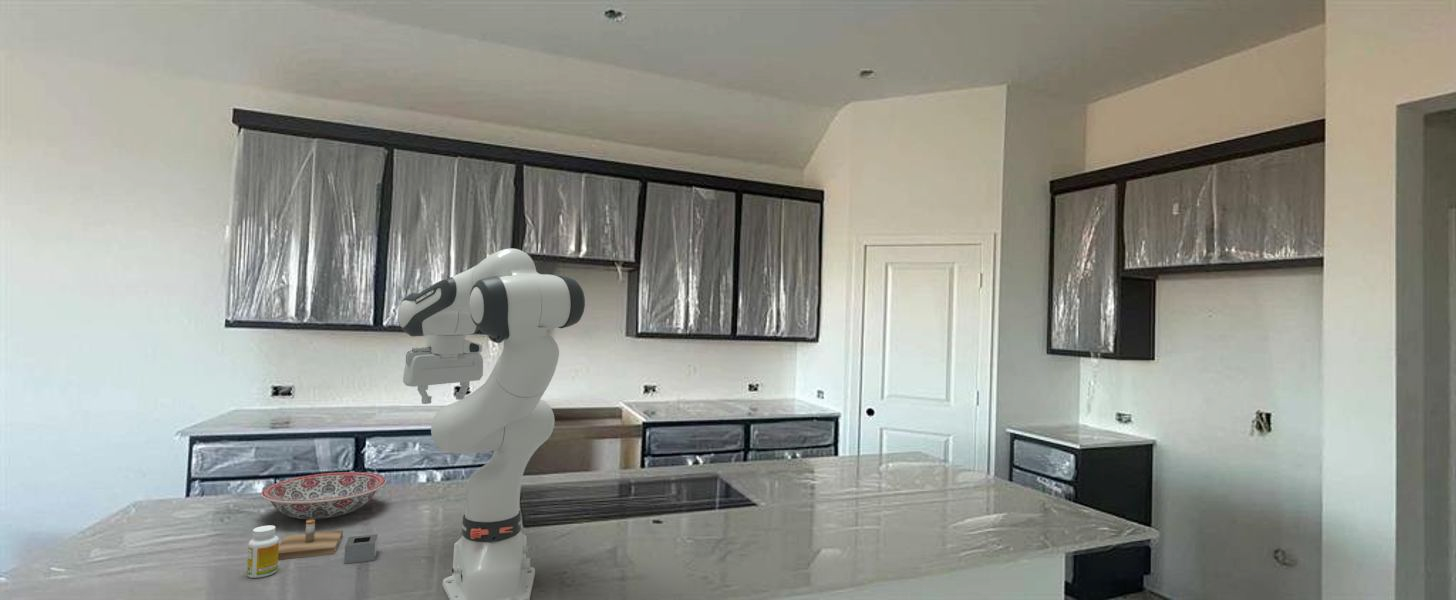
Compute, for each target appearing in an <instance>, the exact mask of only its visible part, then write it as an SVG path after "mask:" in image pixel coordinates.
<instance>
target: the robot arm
mask: <svg viewBox="0 0 1456 600" xmlns="http://www.w3.org/2000/svg"><path fill="white" fill-rule="evenodd" d="M585 309H586V299H585V292H584V290H583V288H582V286H581V285H580V284H579V283H578V282H577V280H575V279H574V278H572V277H570V276H565V275H561V274H558V273H556V272H553V271H550V272H549V273H547V274H546V273H545V274H543V273H542V274H541V273H539V272H537V269H536V265H535V262H534V260H533V258H532V257H531V256H530V255H529V254H528V253H526V252H525V251H523V250H521V249H518V248H503V249H501V250H498V251H496V252H494V253H491V254H490V255H488V256H486V257H485V258H484V259H482V260H481V261H480V262H479V263H477V264H476V265H474V266H473V267H471V268H469V269H467V270H464V271H462V272H459V273H457V274H454V275H453V276H449V277H447V278H444V279H442V280H439V281H438V282H435V283H433V284H432V285H430V286H428V287H427V288H426V289H423V290H422V291H420V292H411V293H409V294H408V295H406V296H405V297H404V298H403V299H402V300H401V301H400V303H399V306H398V310H397V322H398V325H399V327H400V328H401V329H402V331H404V332H405V333H406V334H407V335H409V336H410V337H424V336H426V346H422V347H417V346H416V347H412V348H411V349H409V350H408V351H407V352H406V354H405V364H404V370H403V376H402V382H403V383H404V385H405V386H407V387H413V388H415V387H416V388H417V391H418V393H419V395H420V397H421V405H422V404H423V405H427V404H428V405H429V404H431V403H432V397H433V396H431V395H429V394H428V393H427V390H428V389H429V386H433V385H434V386H436V385H445V384H455V383H459V386H460V388H459V391H456V392H455V399H456V400H458V401H455V402H453V403H450V404H448V405H444V406H441V408H439V410H437V412H436V413H435V415H434V417H433V420H432V422H431V427H430V434H431V435H430V436H431V438H432V441H433V443H434V445H435V446H436V448H437V449H438V450H439V451H441V452H442V453H445V454H447V453H448V454H458V455H460V454H462V455H469V454H479V453H488V452H489V453H490V452H493V455H492V456H491V458H490V459H489V460H488V462H486V464H484V465H482V466H480V467H479V468H478V469H476V470H475V471H473V473H472V474H471V475H470V476H469V478H468V479H467V481H466V484H465V504H464V505H465V507H464V509H465V511H464V515H462V522H461V534H462V535H461V537H460V538H459V539H458V540H456V542H455V543H453V544H454V545H453V560H452V561H453V562H452V568H451V572H452V575H450V576H447V577H445V578H443V579H442V584H441V586H442V588H443V590H444V592H445V594H446V596H447V598H448V600H531V595H532V590H533V586H534V581H535V576H536V569H535V567H532V566H531V560H532V559H531V558H530V557H527V554H528V553H529V551H530V547H529V545H528V546H527V535H525V534H524V533H523V532H522V531H521V530H522V514H521V513H522V512H521V510H520V497H521V487H522V481H523V477H524V472H525V469H526V467H527V465H528V463H529V461H530V460H531V458H532V456H533V455H534V453H535V452H536V451H537V450H538V449H539V447H541V446H542V445H543V444H544V443H545V442H546V441H548V440H549V438H550V437H551V435H552V434H553V432H554V428H555V422H556V421H555V413H554V411H553V409H552V407H551V405H549V403H548V402H547V401H546V400H542V397H543V395H544V394H545V392H546V390H547V388H548V386H549V385H550V383H551V382H552V379H553V376H554V375H555V371H556V369H557V365H558V362H559V356H560V349H559V345H558V342H557V341H556V339H554V337H553V336H552V335H550V334H549V333H547V331H549V330H553V329H565V328H568V327H571V326H574V325H575V324H578V323H579V322H580V321H581V319H582V317H583V315H584V313H585ZM478 331H480V332H482V333H483V334H484V335H486V336H488V338H489V340H490V341H491V342H493V343H496V344H500V343H503V349H502V352H501V354H500V356H499V357H498V359H497V361H496V363H495V365H494V366H493V369H492V370H491V373H490V374H489V376H488V378H487V380H485V382H484V383H483V384H482V385H481V386H479V387H478V388H477V389H475V390H473V392H472V393H469V394H468V395H467V396H466V393H467V391H468V389H469V387H470V383H471V382H474V381H475V382H476V381H477V382H478V381H480V380H481V379H482V378H483V376H484V358H483V356H482V354H481V353H482V352H483V345H482V344H480V343H477V342H475V341H472V340H468V339H466V335H467V336H468V335H472V334H476V333H477V332H478Z"/></svg>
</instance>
